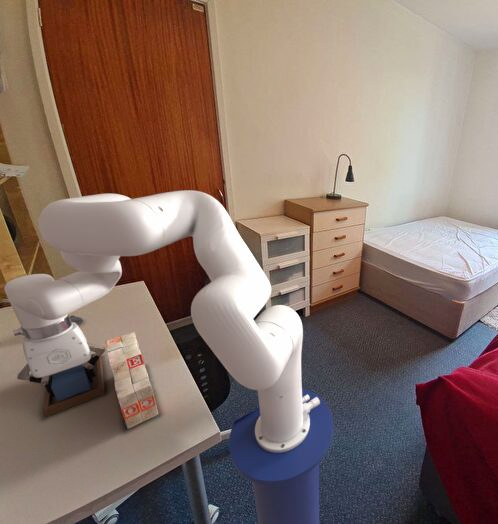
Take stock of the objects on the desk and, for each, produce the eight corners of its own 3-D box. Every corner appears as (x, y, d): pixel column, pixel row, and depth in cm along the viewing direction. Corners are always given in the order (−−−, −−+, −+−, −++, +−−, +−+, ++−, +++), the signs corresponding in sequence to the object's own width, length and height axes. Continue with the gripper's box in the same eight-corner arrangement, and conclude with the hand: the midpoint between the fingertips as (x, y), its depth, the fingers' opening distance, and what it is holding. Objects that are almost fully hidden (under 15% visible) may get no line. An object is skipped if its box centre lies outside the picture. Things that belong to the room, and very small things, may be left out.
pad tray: (101, 357, 84) (99, 351, 84) (105, 393, 72) (102, 387, 72) (51, 374, 78) (49, 368, 77) (46, 416, 66) (43, 410, 65)
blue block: (90, 373, 76) (84, 360, 74) (90, 389, 71) (85, 375, 69) (59, 384, 72) (52, 370, 70) (57, 401, 67) (50, 387, 66)
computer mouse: (86, 321, 101) (83, 311, 100) (59, 336, 93) (55, 326, 91) (72, 319, 102) (68, 310, 100) (44, 335, 93) (39, 325, 92)
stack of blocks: (160, 414, 67) (148, 374, 63) (127, 430, 63) (112, 389, 59) (144, 366, 82) (134, 330, 77) (117, 376, 78) (104, 339, 73)
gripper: (-13, 350, 57) (22, 414, 63) (98, 320, 68) (118, 378, 74) (-6, 332, 62) (26, 393, 69) (96, 307, 73) (115, 362, 79)
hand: (74, 385), depth 71 cm, fingers closed on blue block, 6 cm apart
